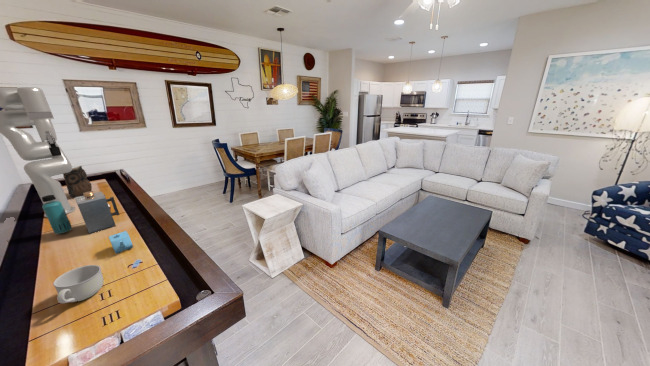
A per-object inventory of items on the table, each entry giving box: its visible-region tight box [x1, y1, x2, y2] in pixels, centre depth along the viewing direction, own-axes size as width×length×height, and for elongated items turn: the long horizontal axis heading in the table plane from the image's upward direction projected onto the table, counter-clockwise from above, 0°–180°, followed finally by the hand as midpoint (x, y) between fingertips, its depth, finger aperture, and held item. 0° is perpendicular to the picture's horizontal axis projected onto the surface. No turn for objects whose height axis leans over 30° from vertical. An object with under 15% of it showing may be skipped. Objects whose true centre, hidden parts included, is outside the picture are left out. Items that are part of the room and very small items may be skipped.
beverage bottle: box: [41, 195, 73, 235], centre depth 114 cm, size 6×7×20 cm
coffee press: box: [74, 191, 120, 235], centre depth 120 cm, size 10×13×17 cm
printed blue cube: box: [108, 230, 134, 255], centre depth 101 cm, size 12×6×8 cm, turn 48°
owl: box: [62, 165, 93, 199], centre depth 162 cm, size 13×13×20 cm
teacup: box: [52, 264, 104, 304], centre depth 76 cm, size 14×11×8 cm
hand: (57, 155), depth 114 cm, fingers closed
